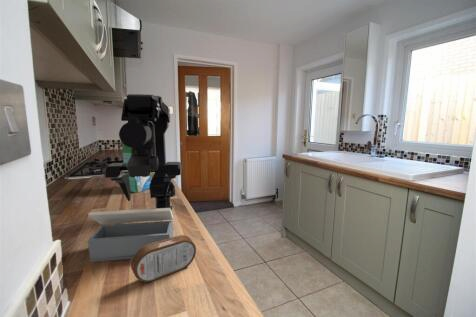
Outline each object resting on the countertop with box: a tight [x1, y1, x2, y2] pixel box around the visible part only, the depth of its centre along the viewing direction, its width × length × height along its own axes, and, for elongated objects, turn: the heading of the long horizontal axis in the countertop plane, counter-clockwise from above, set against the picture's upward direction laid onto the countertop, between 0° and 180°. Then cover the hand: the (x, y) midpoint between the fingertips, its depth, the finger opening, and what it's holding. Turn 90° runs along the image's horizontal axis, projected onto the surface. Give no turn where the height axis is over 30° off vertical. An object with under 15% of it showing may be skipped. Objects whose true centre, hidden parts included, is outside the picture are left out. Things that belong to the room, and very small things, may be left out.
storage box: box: [87, 220, 174, 263], centre depth 65 cm, size 9×20×6 cm, turn 100°
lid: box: [88, 208, 174, 225], centre depth 66 cm, size 9×20×1 cm
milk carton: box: [121, 142, 152, 194], centre depth 119 cm, size 9×9×25 cm
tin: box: [130, 234, 197, 283], centre depth 55 cm, size 15×3×8 cm, turn 126°
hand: (147, 199), depth 64 cm, fingers open, 9 cm apart
